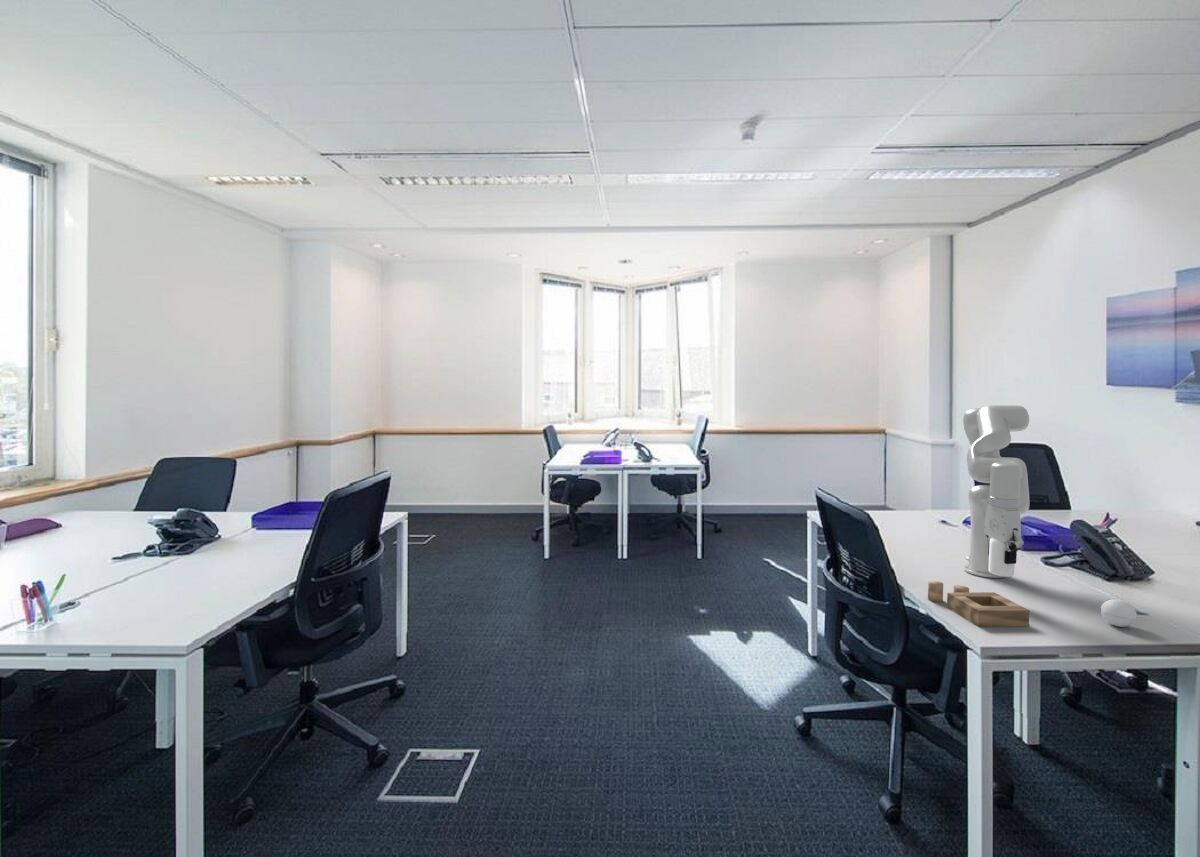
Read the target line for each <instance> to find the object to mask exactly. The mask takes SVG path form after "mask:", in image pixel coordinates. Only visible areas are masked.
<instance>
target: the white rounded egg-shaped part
mask: <svg viewBox="0 0 1200 857" xmlns="http://www.w3.org/2000/svg"><path fill="white" fill-rule="evenodd" d="M1100 613H1101V616H1102V618H1103V619H1104V620H1105V621H1106V622H1107V623H1109V624H1111V625H1113V626H1114V627H1120V628H1124V627H1125V628H1126V627H1130V626H1132V625H1133V624H1134V623H1136V621H1137V618H1138V614H1137V611H1136V609H1135V607H1134V606H1133V605H1132V604H1130V602H1127V601H1125V600H1124V599H1118V598H1112V599H1108V600H1105V602H1103V604H1101V607H1100Z"/></svg>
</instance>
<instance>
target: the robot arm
mask: <svg viewBox="0 0 1200 857" xmlns="http://www.w3.org/2000/svg"><path fill="white" fill-rule="evenodd" d="M962 422H963V430H964V433H965V435H966V438H967V440H968V441H969V445H970V446H969V448H968V450H967V454H966V462H967V464H966V465H967V471H968V475H969V477H970V478H971V479H972V480H975V481H976V482H978V483H979V482H980V483H984V484H979V485H974V486H972V487H971V488H970V489H969V490H968V505H969V510H970V534H969V535H970V537H969V539H970V540H969V541H970V542H969V556H965V560H966V561H967V562H968V564H966V565H965V566H964V568H963V569H964V571H965V572H966V573H968V574H971V575H974V576H977V577H983V578H990V579H991V578H992V579H993V578H994V579H1003V578H1004V577H999V576H995V575H993V574H991V573H990V572H989V546H990V538H991V537H993V538H995V539H997V540H999V541H1002V542H1005V545H1006V549H1007V551H1005V558H1004V563H1006V564H1015V565H1016V564H1017V556H1018V555H1017V552H1019V550H1020V549H1021V547H1022V546H1023V545H1024V544H1025V543H1024V542H1025V541H1024V540H1023V539H1022V523H1021V522H1022V521H1021V520H1022V519H1021V515H1024V514H1026V513H1027V512H1028V511H1029V509H1030V490H1029V478H1028V477H1029V476H1028V470H1027V465H1026V463H1025V461H1024V460H1022V459H1021V458H1018V457H1004V456H1001V455H1000V453H1001V452H1000V450H1003V449H1005V448H1006V447H1008V446H1009V445H1010V443H1011V441H1012V435H1011V432H1012V433H1014V432H1015V433H1016V432H1022V431H1023V432H1024V430H1026V429H1027V428H1028V426H1029V423H1030V415H1029V412H1028V410H1027V409H1026V408H1025V407H1024V406H1021V405H987V406H983V407H978V408H977V407H976V408H971V409H968V410H967V411H964V413H963V418H962ZM987 484H988V485H987ZM1010 539H1012V541H1010ZM1009 543H1012V544H1013V545H1011V546H1010V544H1009Z"/></svg>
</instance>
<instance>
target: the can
mask: <svg viewBox="0 0 1200 857" xmlns="http://www.w3.org/2000/svg"><path fill="white" fill-rule="evenodd" d="M1010 541H1012V539H1010ZM1009 544H1010V546H1011V545H1013V544H1012V543H1009ZM1005 551H1007V549H1006V545H1005V542H1002V541H999V540H997V539H995V538H993V537H991V538H990V546H989V572H990V573H991V574H993V575H995V576H999V577H1003V578H1012V577H1013V576H1014V575H1015V565H1016V564H1006V563H1004V558H1005Z"/></svg>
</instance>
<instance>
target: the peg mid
mask: <svg viewBox="0 0 1200 857" xmlns="http://www.w3.org/2000/svg"><path fill="white" fill-rule="evenodd" d="M927 582H928V583H927V584H928V586H927V600H928V601H930V602H933V603H942V602H944V599H943V598H944V583H943V582H941V581H937V580H929V581H927Z"/></svg>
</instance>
